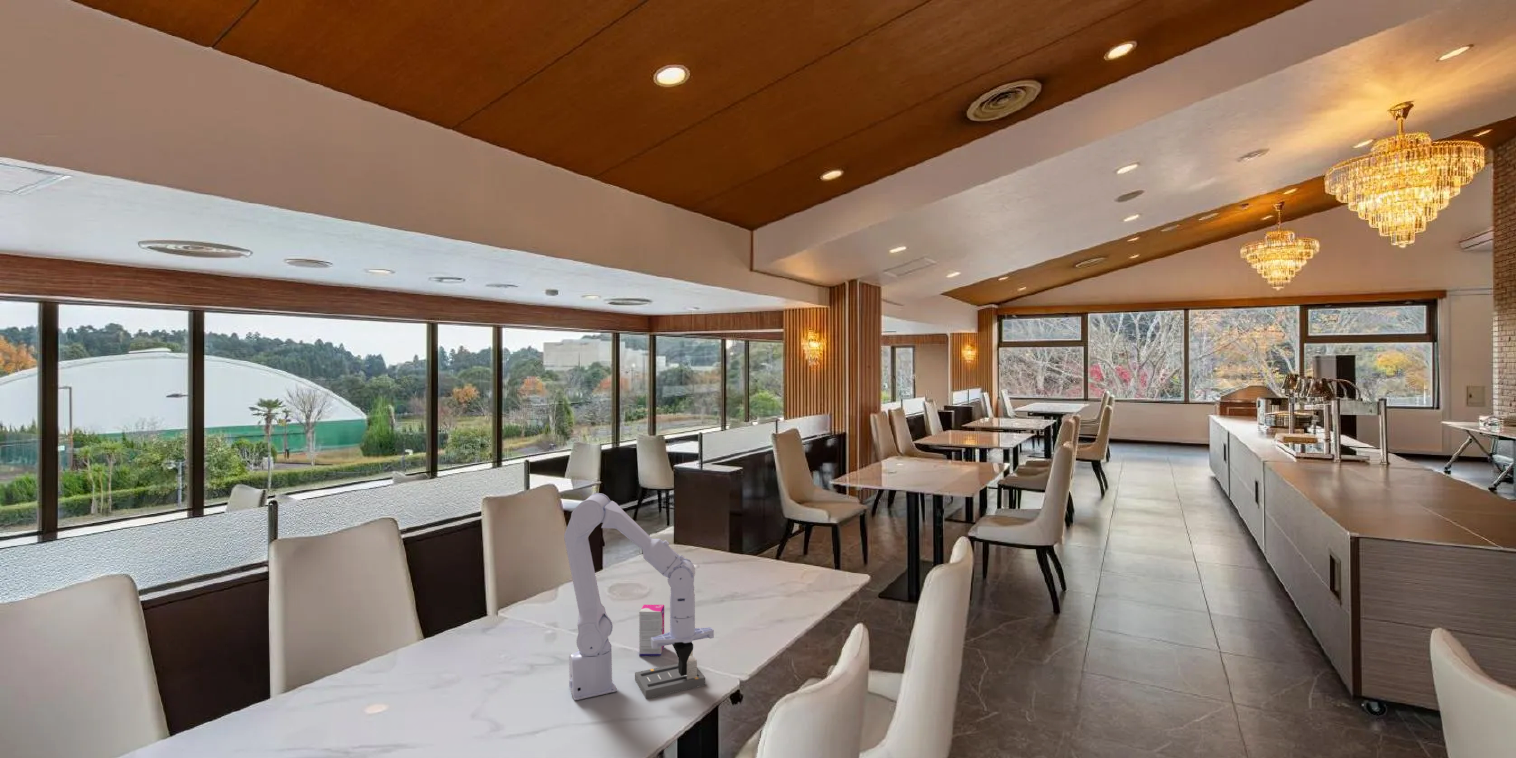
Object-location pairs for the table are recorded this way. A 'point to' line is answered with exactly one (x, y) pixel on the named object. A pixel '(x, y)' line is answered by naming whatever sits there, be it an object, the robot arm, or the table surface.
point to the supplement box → (650, 629)
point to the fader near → (691, 668)
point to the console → (666, 681)
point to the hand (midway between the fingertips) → (683, 673)
